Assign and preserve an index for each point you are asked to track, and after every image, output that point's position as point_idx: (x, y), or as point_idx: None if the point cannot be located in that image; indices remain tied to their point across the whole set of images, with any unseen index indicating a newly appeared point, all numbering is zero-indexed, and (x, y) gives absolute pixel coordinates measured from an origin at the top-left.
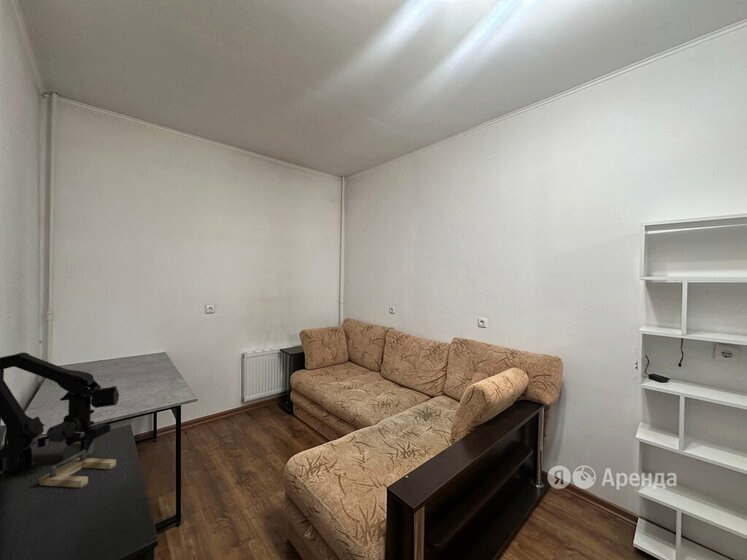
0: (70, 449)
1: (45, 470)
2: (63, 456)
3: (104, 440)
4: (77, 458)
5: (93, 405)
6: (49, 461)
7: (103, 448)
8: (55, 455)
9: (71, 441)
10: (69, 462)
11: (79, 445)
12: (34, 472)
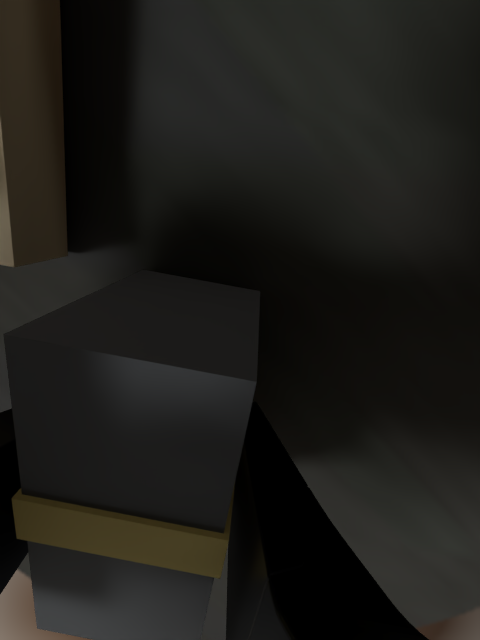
0: (81, 337)
1: (347, 148)
2: (255, 312)
3: (220, 601)
4: (7, 247)
5: None
6: (454, 347)
7: None
8: (475, 449)
9: (250, 587)
10: (2, 131)
11: (26, 453)
12: (460, 106)
